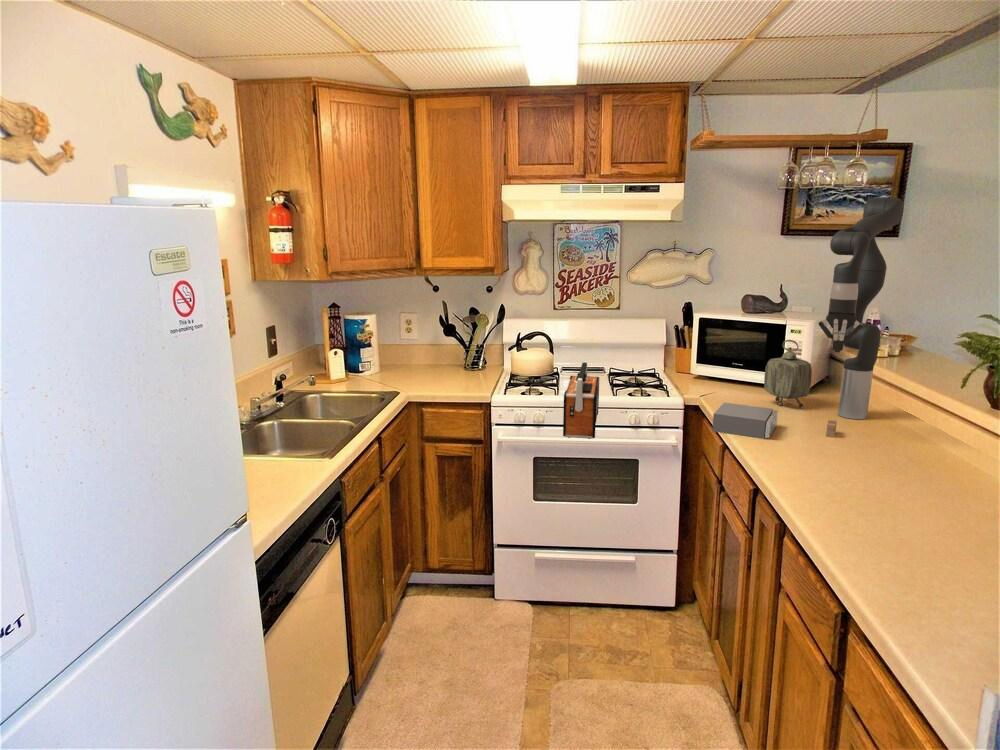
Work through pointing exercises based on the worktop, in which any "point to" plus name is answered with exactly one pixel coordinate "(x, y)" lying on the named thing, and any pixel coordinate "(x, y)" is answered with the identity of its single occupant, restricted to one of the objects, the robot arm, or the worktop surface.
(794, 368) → the tabletop clock
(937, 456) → the worktop surface
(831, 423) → the brown rectangular block
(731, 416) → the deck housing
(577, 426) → the radio cassette player
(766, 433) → the tray
